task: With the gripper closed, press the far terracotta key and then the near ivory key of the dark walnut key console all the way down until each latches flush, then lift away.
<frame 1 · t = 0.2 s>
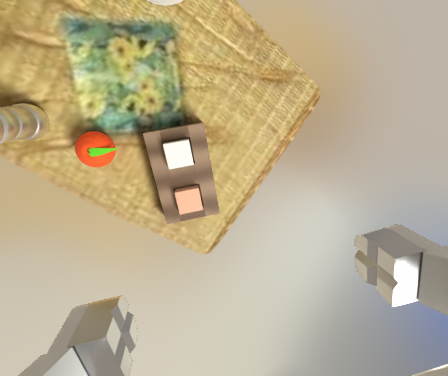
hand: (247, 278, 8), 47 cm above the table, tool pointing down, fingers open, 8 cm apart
key console: (184, 171, 55), on the table
key terracotta: (189, 199, 52), point 5 cm above the table, slide at 0.0 cm
plastic bottle: (35, 121, 48), on the table
key ivory: (178, 153, 49), point 5 cm above the table, slide at 0.0 cm
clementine: (104, 146, 51), on the table
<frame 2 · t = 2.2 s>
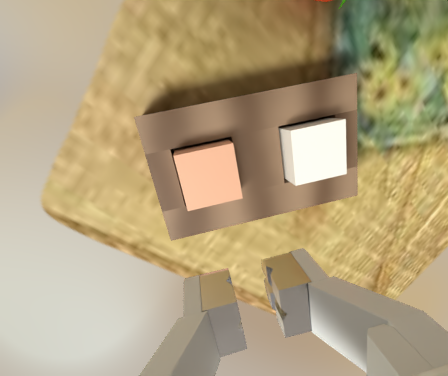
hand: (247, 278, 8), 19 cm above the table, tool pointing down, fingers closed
key console: (248, 153, 27), on the table
key terracotta: (208, 174, 22), point 5 cm above the table, slide at 0.0 cm
key ivory: (312, 150, 23), point 5 cm above the table, slide at 0.0 cm
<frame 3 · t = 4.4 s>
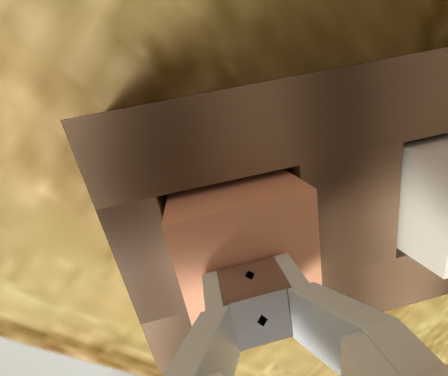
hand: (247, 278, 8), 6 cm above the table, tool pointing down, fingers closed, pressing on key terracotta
key console: (309, 188, 14), on the table
key terracotta: (243, 249, 10), point 4 cm above the table, slide at 0.2 cm, touching gripper
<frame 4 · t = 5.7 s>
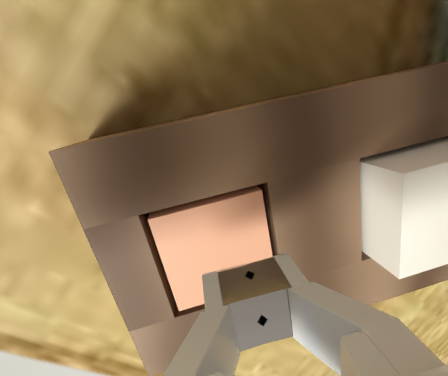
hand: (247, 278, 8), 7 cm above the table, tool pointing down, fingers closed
key console: (285, 197, 15), on the table
key terracotta: (214, 238, 13), point 3 cm above the table, slide at 2.0 cm
key ivory: (422, 203, 12), point 5 cm above the table, slide at 0.0 cm
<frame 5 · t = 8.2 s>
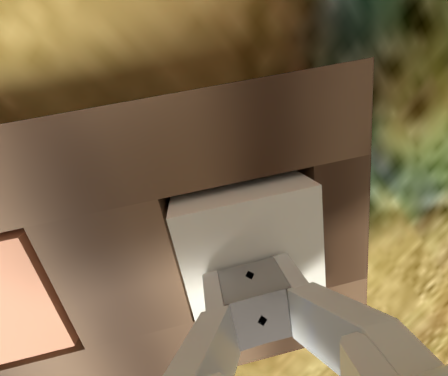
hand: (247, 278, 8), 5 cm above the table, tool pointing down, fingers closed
key console: (138, 229, 13), on the table
key terracotta: (4, 286, 10), point 3 cm above the table, slide at 2.0 cm
key ivory: (246, 245, 10), point 4 cm above the table, slide at 0.9 cm, touching gripper
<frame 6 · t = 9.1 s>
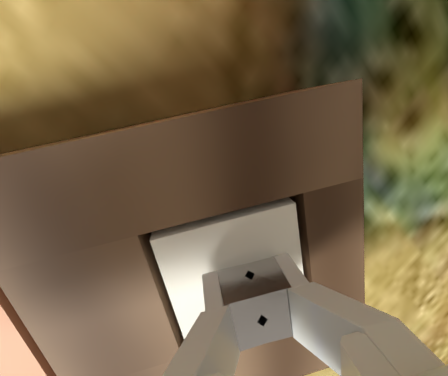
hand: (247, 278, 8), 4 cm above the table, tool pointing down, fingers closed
key console: (125, 256, 12), on the table
key ivory: (230, 259, 10), point 3 cm above the table, slide at 2.0 cm
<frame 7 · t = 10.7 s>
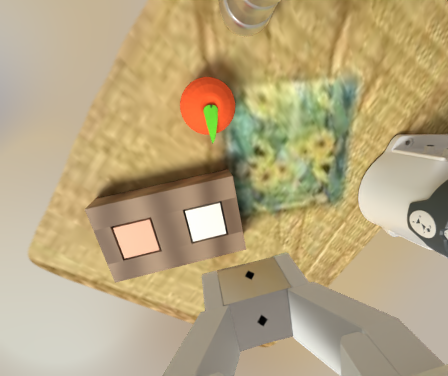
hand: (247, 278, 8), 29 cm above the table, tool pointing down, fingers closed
key console: (173, 219, 39), on the table
key terracotta: (138, 234, 36), point 3 cm above the table, slide at 2.0 cm
plastic bottle: (241, 11, 31), on the table
key ivory: (205, 218, 37), point 3 cm above the table, slide at 2.0 cm
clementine: (206, 110, 34), on the table
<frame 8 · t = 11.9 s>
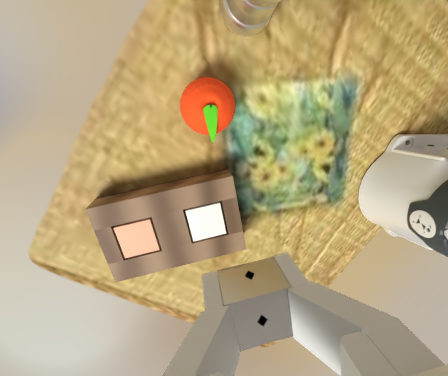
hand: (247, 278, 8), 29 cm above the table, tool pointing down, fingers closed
key console: (173, 218, 39), on the table
key terracotta: (138, 234, 36), point 3 cm above the table, slide at 2.0 cm
plastic bottle: (241, 12, 31), on the table
key ivory: (205, 218, 37), point 3 cm above the table, slide at 2.0 cm
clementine: (206, 110, 35), on the table
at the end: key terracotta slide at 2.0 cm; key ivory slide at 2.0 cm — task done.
